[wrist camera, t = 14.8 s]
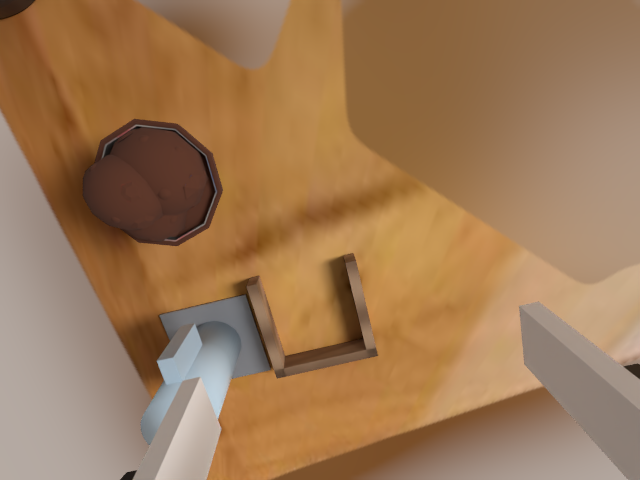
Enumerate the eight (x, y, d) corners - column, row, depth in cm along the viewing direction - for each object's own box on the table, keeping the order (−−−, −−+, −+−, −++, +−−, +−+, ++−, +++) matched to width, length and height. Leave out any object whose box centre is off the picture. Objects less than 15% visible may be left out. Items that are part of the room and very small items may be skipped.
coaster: (160, 314, 46) (159, 315, 45) (245, 294, 45) (245, 295, 45) (190, 386, 49) (189, 388, 49) (270, 368, 48) (270, 369, 48)
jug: (199, 370, 48) (155, 463, 34) (176, 308, 45) (119, 382, 32) (247, 360, 47) (221, 449, 34) (227, 297, 45) (190, 367, 32)
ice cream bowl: (202, 239, 43) (148, 295, 29) (120, 174, 41) (16, 200, 26) (260, 170, 41) (233, 194, 27) (177, 98, 39) (98, 81, 24)
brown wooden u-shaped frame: (249, 277, 45) (246, 286, 42) (353, 253, 44) (355, 260, 42) (278, 366, 48) (276, 378, 46) (374, 344, 48) (377, 355, 45)
